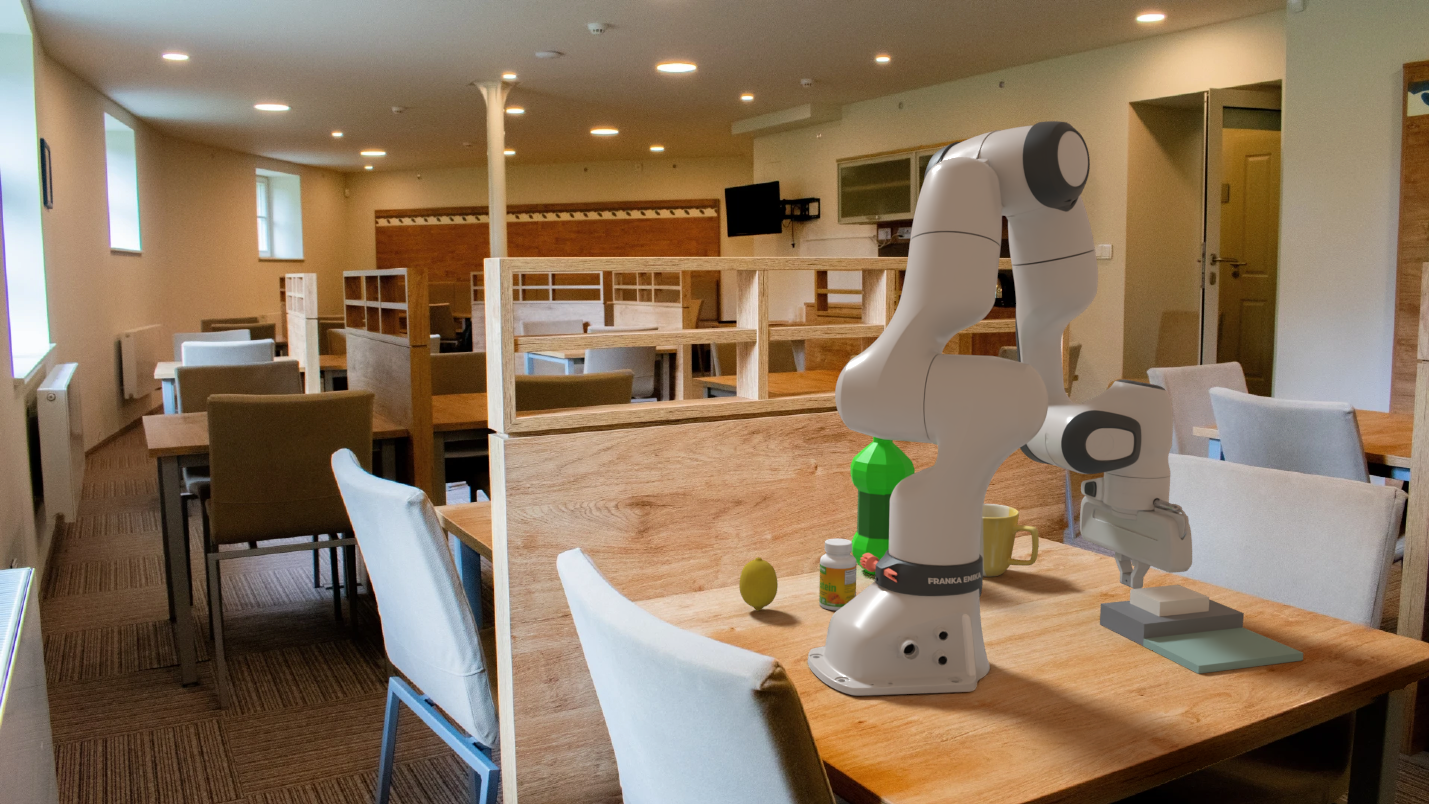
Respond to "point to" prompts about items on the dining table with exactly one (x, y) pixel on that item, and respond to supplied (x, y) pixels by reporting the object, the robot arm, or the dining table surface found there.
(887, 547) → the plastic bottle
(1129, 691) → the dining table surface
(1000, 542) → the mug
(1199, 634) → the mat
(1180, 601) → the tile
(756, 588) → the lemon
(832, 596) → the supplement bottle
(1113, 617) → the plate
